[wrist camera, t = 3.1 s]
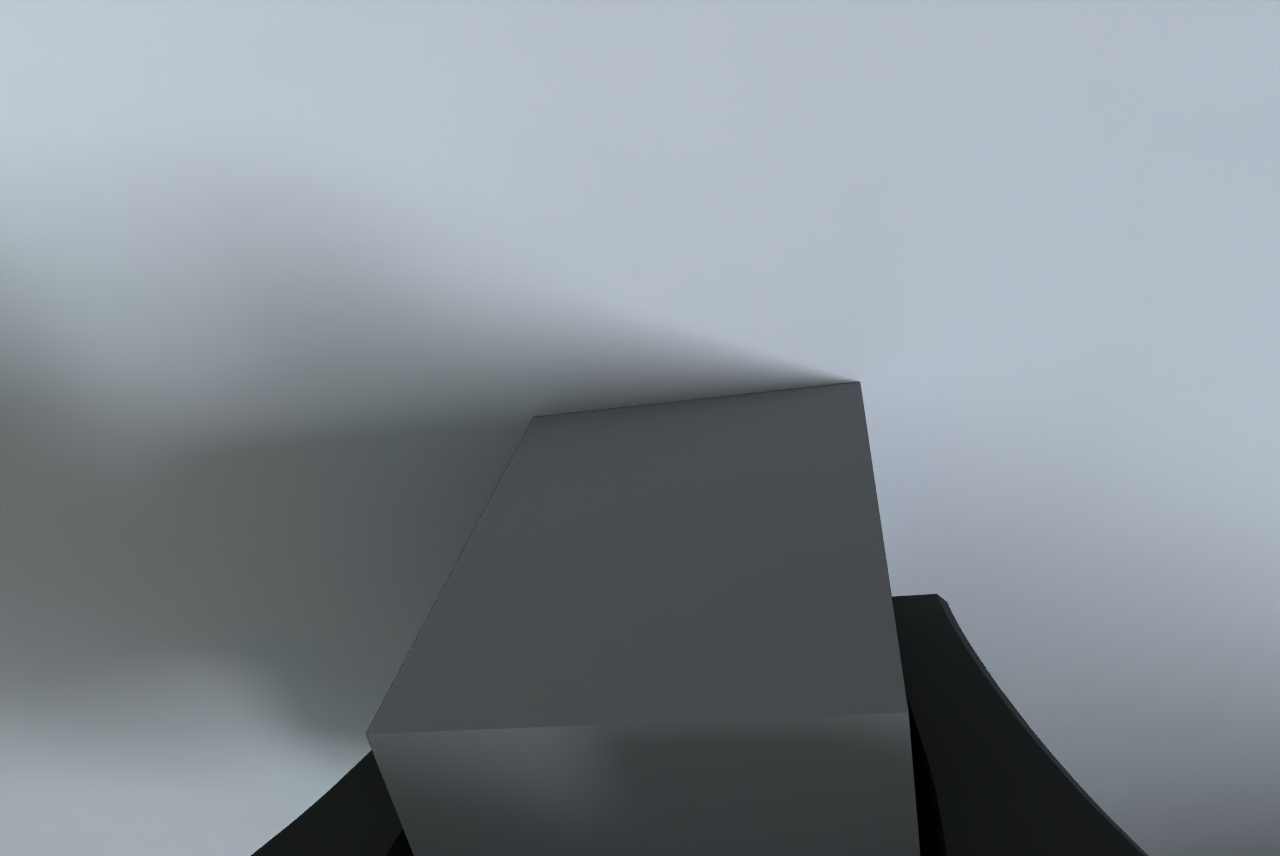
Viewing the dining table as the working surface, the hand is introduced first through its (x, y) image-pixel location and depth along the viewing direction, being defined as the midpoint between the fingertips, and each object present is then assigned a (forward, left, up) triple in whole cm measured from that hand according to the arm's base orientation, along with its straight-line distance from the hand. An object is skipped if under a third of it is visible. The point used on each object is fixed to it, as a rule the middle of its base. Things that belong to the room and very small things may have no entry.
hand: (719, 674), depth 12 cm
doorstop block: (0, 0, -2) cm, 2 cm away
